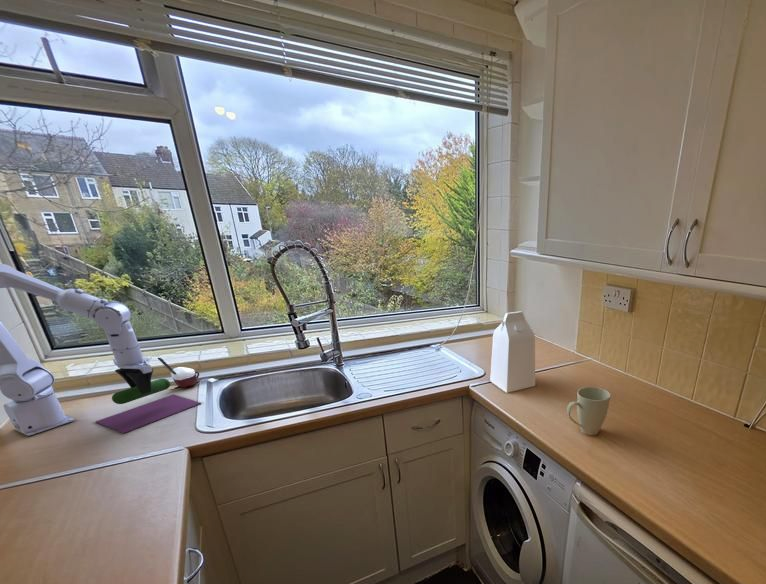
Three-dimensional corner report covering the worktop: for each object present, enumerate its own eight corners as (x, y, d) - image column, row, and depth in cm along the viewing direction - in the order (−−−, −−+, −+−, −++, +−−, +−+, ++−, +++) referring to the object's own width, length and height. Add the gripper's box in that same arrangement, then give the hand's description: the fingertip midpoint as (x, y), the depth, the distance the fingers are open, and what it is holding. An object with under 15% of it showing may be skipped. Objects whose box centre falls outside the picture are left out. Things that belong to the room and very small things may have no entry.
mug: (576, 419, 122) (580, 383, 117) (609, 428, 118) (614, 390, 113) (563, 436, 113) (567, 398, 108) (598, 446, 109) (603, 406, 104)
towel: (123, 433, 110) (123, 432, 110) (95, 422, 115) (95, 421, 115) (201, 403, 127) (200, 402, 126) (173, 395, 132) (173, 394, 131)
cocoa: (200, 379, 143) (190, 347, 138) (204, 384, 139) (194, 352, 134) (166, 387, 137) (154, 353, 132) (170, 393, 133) (158, 358, 128)
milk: (517, 374, 153) (519, 307, 143) (535, 385, 145) (538, 314, 134) (490, 381, 147) (490, 310, 137) (506, 392, 139) (508, 318, 128)
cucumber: (118, 407, 112) (114, 396, 111) (111, 404, 113) (107, 393, 112) (174, 388, 124) (170, 377, 122) (167, 386, 125) (163, 375, 124)
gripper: (157, 346, 113) (172, 390, 119) (127, 339, 118) (143, 382, 124) (127, 354, 107) (144, 400, 113) (97, 346, 112) (115, 390, 118)
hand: (142, 391), depth 118 cm, fingers closed on cucumber, 3 cm apart
